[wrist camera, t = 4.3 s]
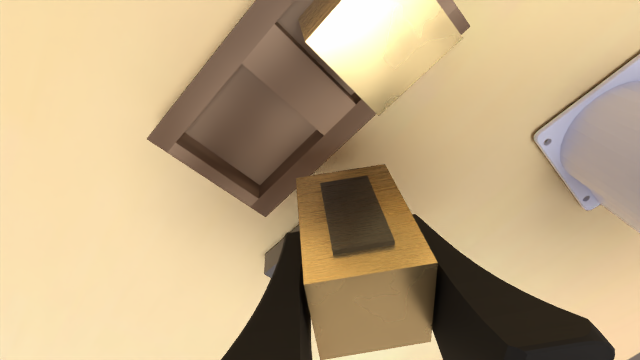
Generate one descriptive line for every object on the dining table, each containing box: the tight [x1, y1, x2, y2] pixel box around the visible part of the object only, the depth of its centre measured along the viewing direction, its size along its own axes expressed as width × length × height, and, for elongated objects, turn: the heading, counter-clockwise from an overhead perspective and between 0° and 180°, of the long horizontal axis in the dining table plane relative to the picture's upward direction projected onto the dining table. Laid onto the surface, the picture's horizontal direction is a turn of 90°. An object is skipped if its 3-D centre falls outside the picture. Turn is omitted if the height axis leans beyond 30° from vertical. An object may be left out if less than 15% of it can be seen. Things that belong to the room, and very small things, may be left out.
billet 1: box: [298, 0, 463, 116], centre depth 14 cm, size 4×4×6 cm
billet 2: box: [296, 164, 438, 360], centre depth 13 cm, size 4×4×6 cm
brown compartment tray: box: [147, 0, 470, 217], centre depth 18 cm, size 8×15×2 cm, turn 135°
